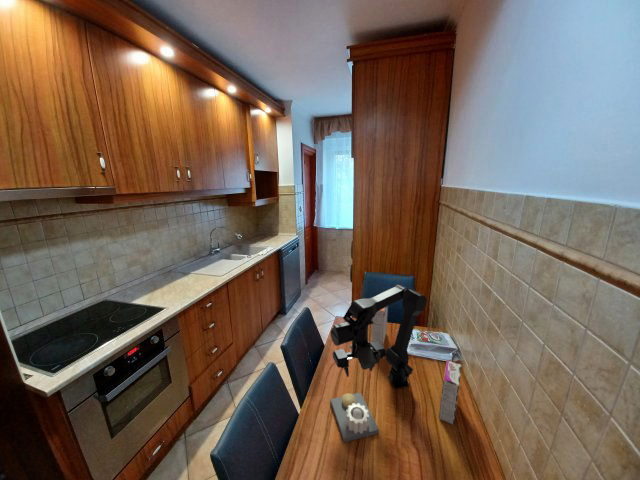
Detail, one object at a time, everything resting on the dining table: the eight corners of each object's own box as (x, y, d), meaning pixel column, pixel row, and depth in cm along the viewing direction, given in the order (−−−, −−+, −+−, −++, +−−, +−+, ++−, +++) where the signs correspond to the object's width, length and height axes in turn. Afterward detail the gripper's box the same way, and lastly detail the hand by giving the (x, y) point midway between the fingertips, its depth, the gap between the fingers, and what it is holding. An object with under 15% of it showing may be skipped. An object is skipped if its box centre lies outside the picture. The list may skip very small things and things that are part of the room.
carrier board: (360, 395, 95) (360, 381, 94) (378, 433, 81) (379, 417, 79) (330, 402, 92) (330, 387, 91) (344, 442, 78) (344, 426, 77)
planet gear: (362, 410, 87) (363, 401, 86) (372, 430, 80) (372, 420, 79) (342, 415, 86) (343, 405, 85) (350, 436, 78) (350, 426, 78)
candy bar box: (441, 395, 95) (446, 359, 91) (456, 401, 92) (462, 364, 89) (437, 418, 86) (443, 379, 82) (453, 426, 83) (460, 385, 79)
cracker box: (375, 331, 136) (377, 296, 131) (386, 333, 134) (388, 298, 129) (370, 346, 123) (372, 308, 118) (382, 349, 121) (384, 311, 116)
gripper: (343, 356, 77) (343, 397, 81) (395, 344, 82) (393, 383, 86) (331, 336, 88) (332, 373, 91) (378, 326, 93) (377, 361, 96)
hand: (359, 373), depth 91 cm, fingers open, 9 cm apart
